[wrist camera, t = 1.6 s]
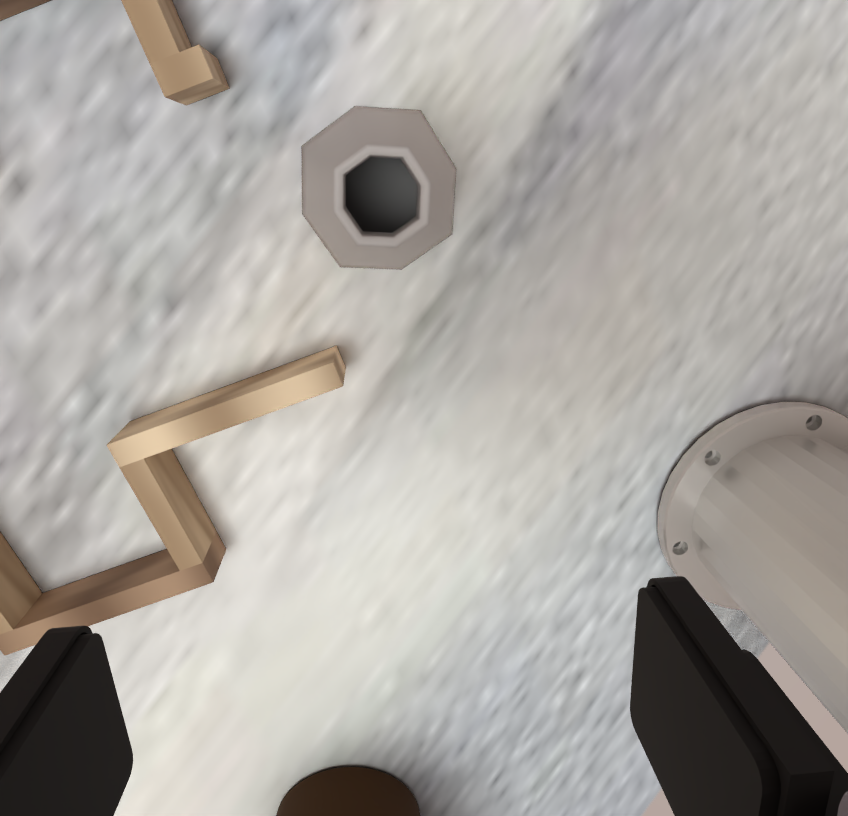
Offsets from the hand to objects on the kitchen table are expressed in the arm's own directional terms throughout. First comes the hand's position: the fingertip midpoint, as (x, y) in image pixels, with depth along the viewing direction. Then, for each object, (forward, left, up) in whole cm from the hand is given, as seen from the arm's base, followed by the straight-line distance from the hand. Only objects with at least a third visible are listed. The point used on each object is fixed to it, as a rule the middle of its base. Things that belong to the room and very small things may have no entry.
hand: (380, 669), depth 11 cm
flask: (-3, -7, -22) cm, 23 cm away
